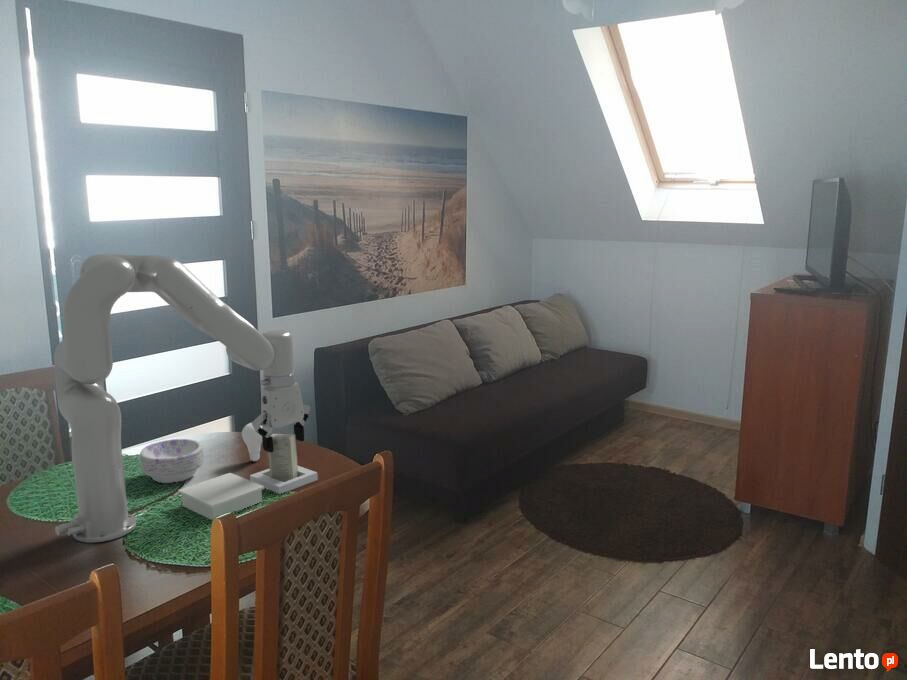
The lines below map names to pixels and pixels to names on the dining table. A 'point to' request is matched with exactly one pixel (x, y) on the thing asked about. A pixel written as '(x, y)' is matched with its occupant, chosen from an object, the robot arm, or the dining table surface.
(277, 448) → the skincare box
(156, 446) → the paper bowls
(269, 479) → the frame
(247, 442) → the lightbulb
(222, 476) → the stand
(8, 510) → the dining table surface
